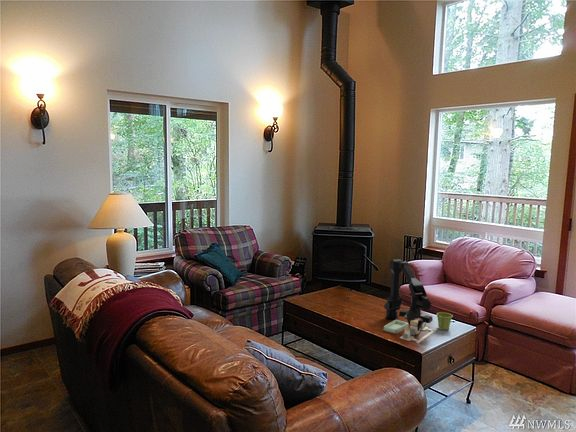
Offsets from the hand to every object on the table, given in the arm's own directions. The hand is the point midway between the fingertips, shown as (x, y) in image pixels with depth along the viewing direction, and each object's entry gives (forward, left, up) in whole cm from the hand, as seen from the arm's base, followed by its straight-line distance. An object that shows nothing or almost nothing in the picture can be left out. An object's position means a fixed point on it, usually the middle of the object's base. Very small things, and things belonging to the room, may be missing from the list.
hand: (414, 330), depth 246 cm
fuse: (0, 0, -1) cm, 1 cm away
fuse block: (+3, 0, -2) cm, 3 cm away
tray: (-11, -1, -2) cm, 12 cm away
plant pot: (+10, +20, -2) cm, 22 cm away
